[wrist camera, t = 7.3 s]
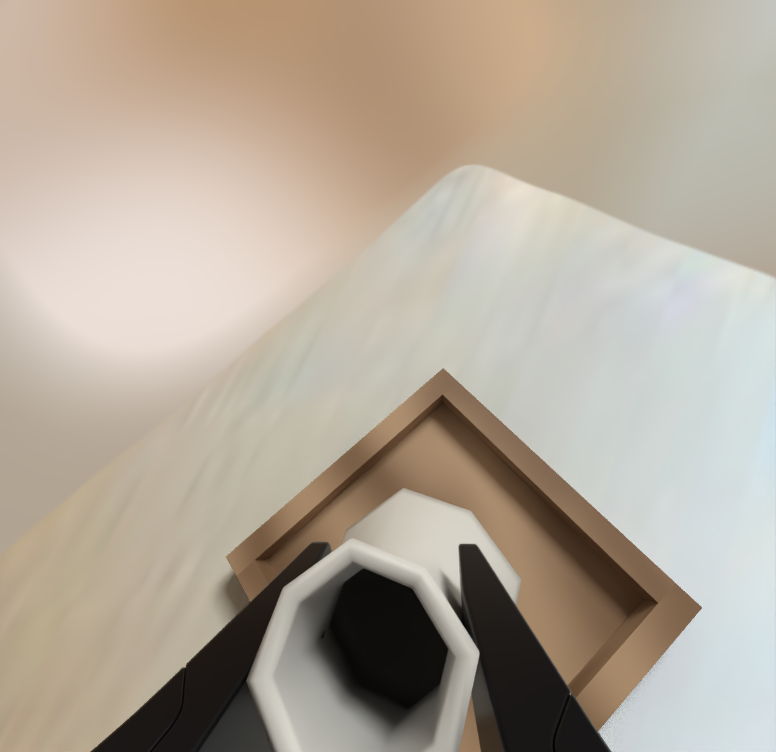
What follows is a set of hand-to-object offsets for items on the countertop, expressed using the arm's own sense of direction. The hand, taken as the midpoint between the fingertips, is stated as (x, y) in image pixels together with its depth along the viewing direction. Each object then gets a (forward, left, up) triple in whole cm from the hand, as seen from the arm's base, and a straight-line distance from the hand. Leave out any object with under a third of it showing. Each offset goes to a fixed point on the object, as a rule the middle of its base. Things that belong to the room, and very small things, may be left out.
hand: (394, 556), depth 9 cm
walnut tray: (0, -1, -13) cm, 13 cm away
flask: (-1, -1, -7) cm, 7 cm away
